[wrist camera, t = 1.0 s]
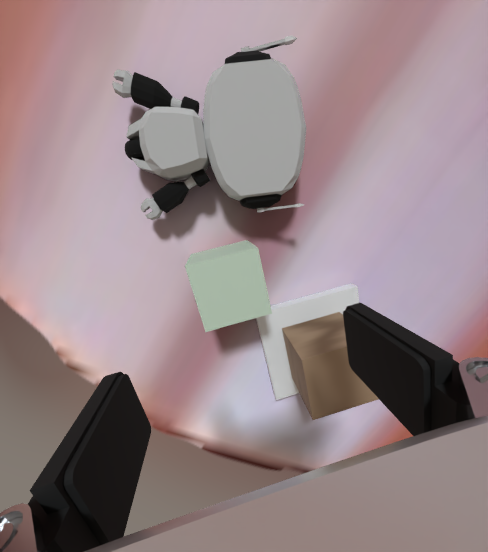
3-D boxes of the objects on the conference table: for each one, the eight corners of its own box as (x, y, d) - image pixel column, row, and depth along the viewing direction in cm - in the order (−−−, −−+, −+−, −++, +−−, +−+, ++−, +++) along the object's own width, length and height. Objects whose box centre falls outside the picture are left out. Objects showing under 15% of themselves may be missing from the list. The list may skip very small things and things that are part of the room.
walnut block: (339, 311, 27) (374, 338, 21) (345, 362, 29) (379, 398, 23) (281, 328, 26) (301, 360, 20) (292, 378, 28) (313, 420, 22)
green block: (246, 240, 24) (257, 247, 19) (258, 291, 26) (271, 313, 20) (191, 254, 24) (185, 266, 18) (206, 305, 26) (205, 332, 20)
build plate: (351, 283, 27) (357, 286, 26) (359, 366, 31) (365, 372, 29) (254, 310, 26) (255, 314, 25) (273, 393, 30) (276, 400, 29)
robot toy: (153, 225, 24) (297, 207, 24) (136, 227, 19) (312, 205, 20) (122, 83, 20) (289, 66, 21) (92, 47, 16) (306, 26, 16)
